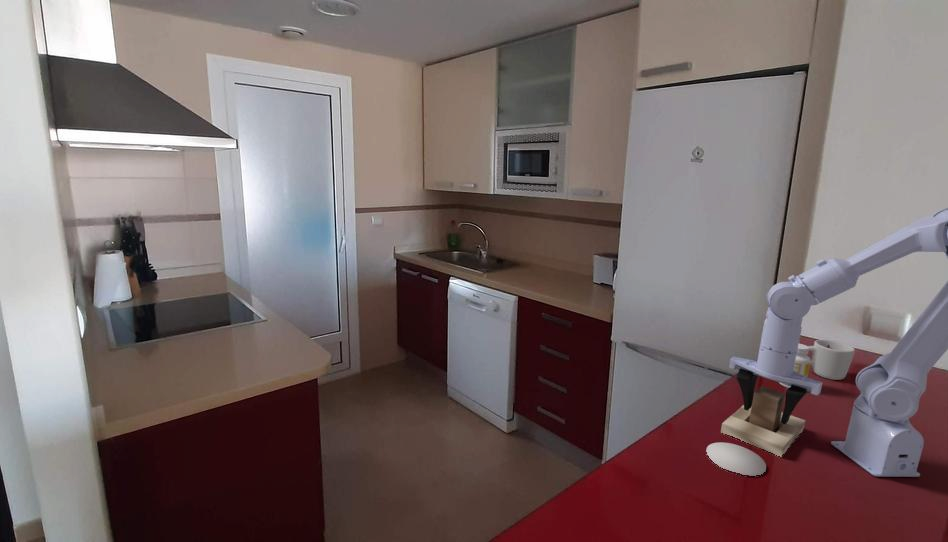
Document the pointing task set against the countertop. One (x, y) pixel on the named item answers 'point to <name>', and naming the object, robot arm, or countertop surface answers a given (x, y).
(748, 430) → the holder block
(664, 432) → the countertop surface
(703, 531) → the countertop surface
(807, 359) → the supplement bottle
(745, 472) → the coaster
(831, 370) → the cup
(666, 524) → the countertop surface
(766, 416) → the plug peg
